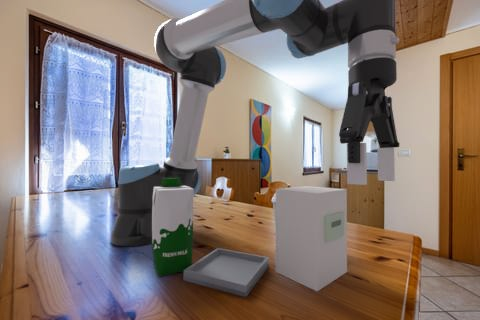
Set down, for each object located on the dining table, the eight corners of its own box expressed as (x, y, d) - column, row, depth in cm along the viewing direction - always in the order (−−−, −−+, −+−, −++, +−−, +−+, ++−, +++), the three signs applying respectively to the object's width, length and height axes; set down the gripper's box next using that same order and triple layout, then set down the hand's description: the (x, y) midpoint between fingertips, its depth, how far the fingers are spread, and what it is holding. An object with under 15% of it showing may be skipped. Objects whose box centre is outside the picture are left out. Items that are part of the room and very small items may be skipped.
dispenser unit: (274, 271, 50) (274, 188, 50) (305, 257, 58) (305, 185, 58) (321, 293, 41) (320, 193, 42) (350, 273, 49) (350, 189, 49)
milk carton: (186, 256, 58) (187, 177, 58) (196, 271, 50) (197, 179, 50) (149, 262, 54) (150, 177, 54) (154, 280, 46) (155, 180, 46)
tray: (183, 280, 46) (183, 270, 46) (217, 255, 58) (217, 247, 58) (245, 297, 40) (245, 285, 40) (269, 266, 52) (269, 257, 52)
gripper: (365, 28, 30) (368, 188, 30) (414, 76, 47) (417, 180, 46) (315, 50, 36) (316, 184, 35) (374, 86, 52) (376, 178, 52)
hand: (373, 182), depth 41 cm, fingers open, 13 cm apart
